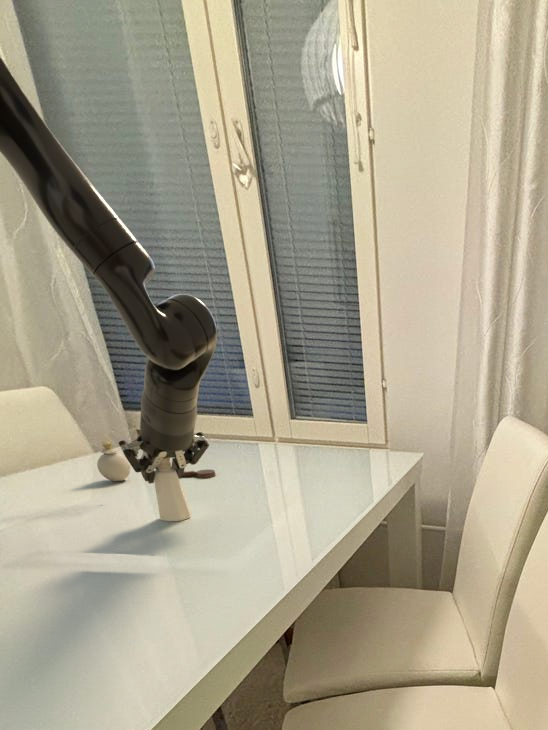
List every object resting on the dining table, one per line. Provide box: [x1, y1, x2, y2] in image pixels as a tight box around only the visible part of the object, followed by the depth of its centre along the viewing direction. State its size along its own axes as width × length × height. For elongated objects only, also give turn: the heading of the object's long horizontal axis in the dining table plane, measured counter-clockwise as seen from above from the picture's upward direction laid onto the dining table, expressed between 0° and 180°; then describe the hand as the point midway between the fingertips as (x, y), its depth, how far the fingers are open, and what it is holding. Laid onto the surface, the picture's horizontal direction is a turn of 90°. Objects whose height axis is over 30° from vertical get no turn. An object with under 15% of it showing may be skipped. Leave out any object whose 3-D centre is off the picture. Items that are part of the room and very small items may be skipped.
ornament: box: [96, 433, 131, 482], centre depth 120 cm, size 6×7×10 cm
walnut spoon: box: [181, 469, 217, 479], centre depth 126 cm, size 14×4×1 cm, turn 104°
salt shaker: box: [153, 458, 192, 522], centre depth 99 cm, size 5×5×11 cm
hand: (162, 476), depth 99 cm, fingers closed on salt shaker, 4 cm apart
